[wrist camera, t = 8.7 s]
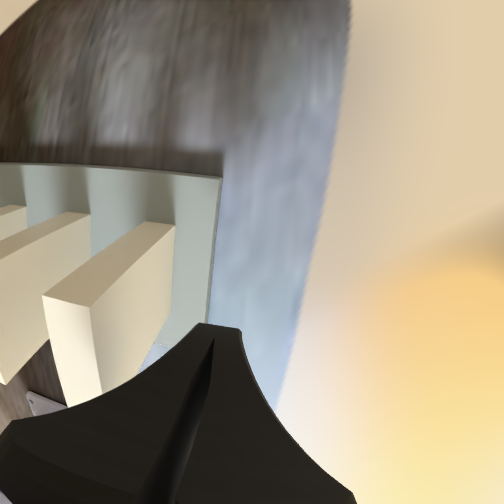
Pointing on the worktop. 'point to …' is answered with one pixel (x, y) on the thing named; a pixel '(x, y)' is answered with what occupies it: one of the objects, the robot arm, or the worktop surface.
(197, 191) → the board
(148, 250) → the head domino
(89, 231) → the domino
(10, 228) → the domino
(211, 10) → the worktop surface
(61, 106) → the worktop surface
